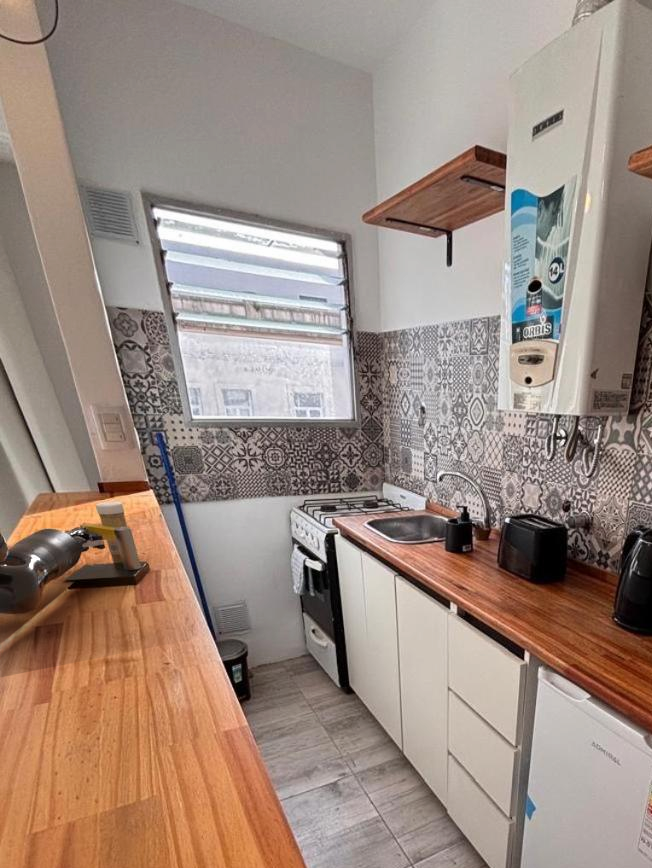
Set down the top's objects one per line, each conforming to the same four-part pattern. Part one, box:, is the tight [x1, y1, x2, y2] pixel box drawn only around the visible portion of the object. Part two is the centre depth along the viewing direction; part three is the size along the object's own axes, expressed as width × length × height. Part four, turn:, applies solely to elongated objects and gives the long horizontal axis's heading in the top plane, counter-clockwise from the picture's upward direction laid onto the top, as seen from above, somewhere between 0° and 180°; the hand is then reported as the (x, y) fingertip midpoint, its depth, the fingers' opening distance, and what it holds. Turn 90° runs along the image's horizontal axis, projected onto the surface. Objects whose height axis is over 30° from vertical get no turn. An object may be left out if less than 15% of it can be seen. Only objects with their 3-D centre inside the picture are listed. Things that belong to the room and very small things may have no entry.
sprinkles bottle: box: [95, 501, 128, 563], centre depth 108 cm, size 5×5×13 cm
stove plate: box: [64, 560, 151, 590], centre depth 103 cm, size 12×10×2 cm
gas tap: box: [79, 522, 141, 570], centre depth 103 cm, size 12×3×8 cm, turn 69°
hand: (82, 532), depth 103 cm, fingers closed
